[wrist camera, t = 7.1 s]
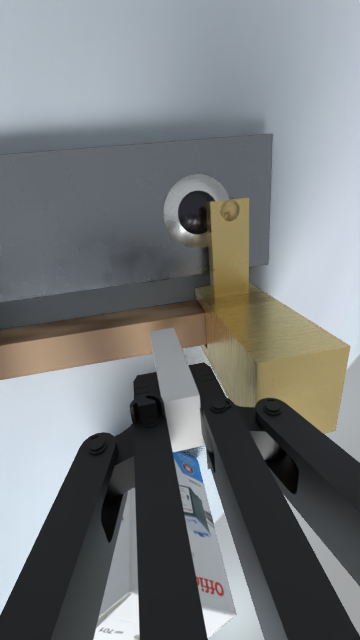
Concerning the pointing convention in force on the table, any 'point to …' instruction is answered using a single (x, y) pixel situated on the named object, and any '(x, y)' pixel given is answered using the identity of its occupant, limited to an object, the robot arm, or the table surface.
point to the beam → (96, 338)
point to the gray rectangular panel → (124, 212)
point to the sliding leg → (264, 331)
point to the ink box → (216, 600)
